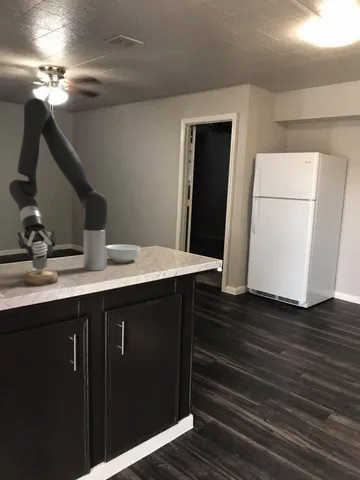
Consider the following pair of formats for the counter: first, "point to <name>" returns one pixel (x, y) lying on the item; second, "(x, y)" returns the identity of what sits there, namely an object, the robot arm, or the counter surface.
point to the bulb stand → (40, 278)
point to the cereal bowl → (123, 252)
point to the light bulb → (39, 262)
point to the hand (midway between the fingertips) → (41, 255)
